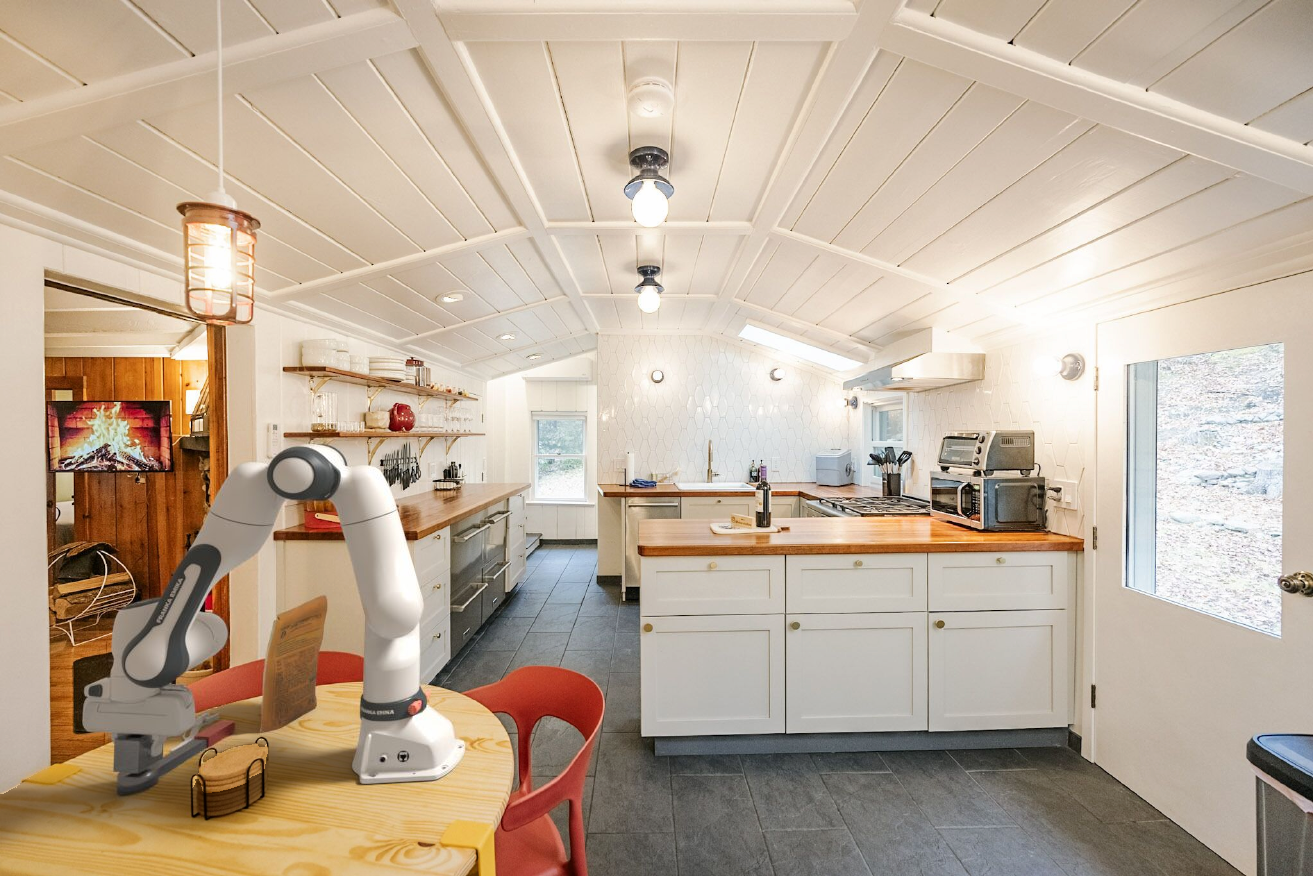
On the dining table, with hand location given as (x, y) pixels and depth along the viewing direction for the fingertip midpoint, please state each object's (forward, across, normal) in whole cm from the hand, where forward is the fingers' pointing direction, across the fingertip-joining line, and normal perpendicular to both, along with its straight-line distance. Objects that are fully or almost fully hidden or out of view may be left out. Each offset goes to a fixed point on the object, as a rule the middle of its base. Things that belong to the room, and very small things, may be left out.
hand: (138, 754), depth 108 cm
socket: (+2, 0, 0) cm, 2 cm away
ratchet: (+6, 0, -9) cm, 11 cm away
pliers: (+7, +9, -19) cm, 22 cm away
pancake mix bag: (+6, -10, -29) cm, 31 cm away
